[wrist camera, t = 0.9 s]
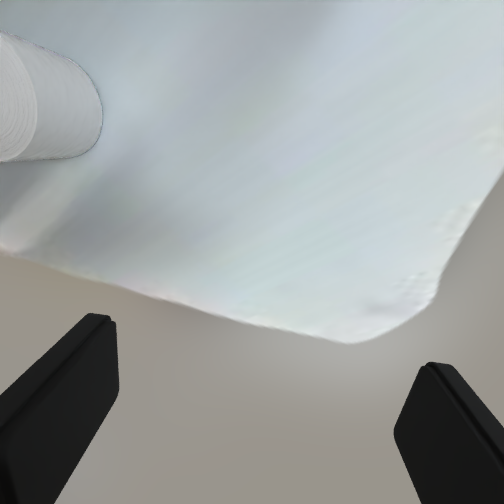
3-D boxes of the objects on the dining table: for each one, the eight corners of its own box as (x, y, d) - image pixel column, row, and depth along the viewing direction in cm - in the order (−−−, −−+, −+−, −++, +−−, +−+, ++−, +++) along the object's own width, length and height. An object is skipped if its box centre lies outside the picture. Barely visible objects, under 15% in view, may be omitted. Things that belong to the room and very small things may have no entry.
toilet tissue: (114, 154, 34) (54, 158, 25) (19, 161, 35) (-74, 168, 25) (89, 47, 30) (9, 4, 21) (-16, 58, 31) (-139, 22, 22)
